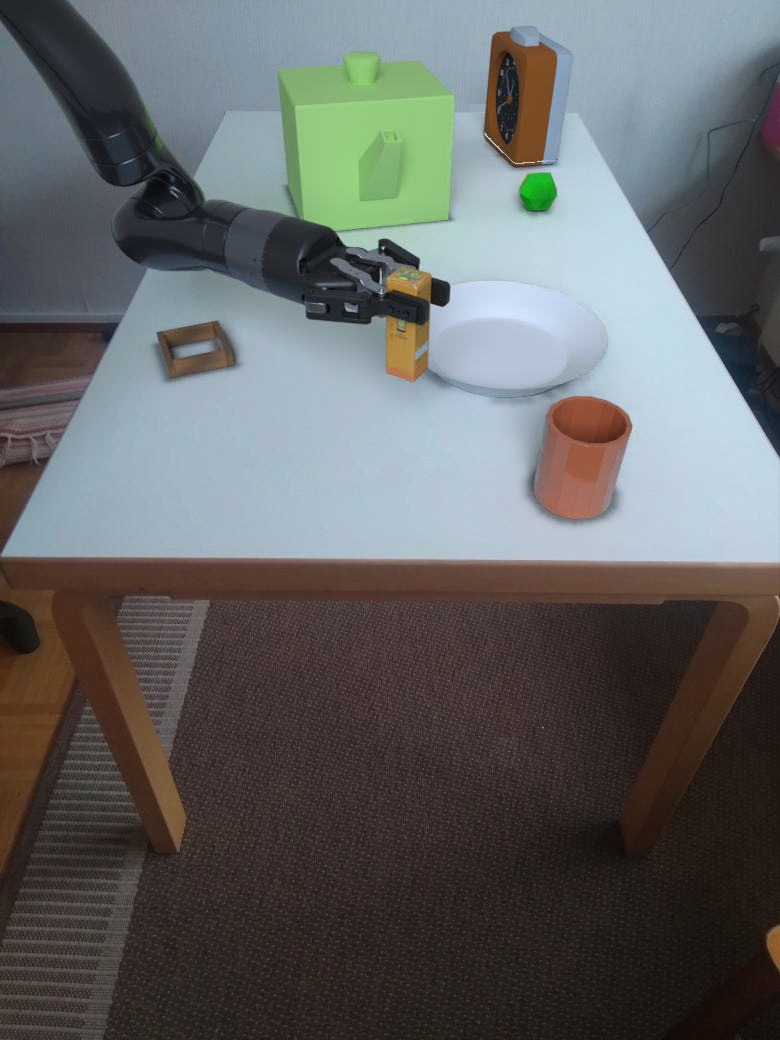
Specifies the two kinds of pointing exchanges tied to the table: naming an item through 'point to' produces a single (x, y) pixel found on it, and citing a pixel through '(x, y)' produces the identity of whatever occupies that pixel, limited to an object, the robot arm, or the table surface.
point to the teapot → (367, 142)
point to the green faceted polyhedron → (538, 191)
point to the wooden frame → (200, 360)
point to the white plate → (512, 338)
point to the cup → (581, 456)
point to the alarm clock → (527, 95)
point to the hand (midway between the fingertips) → (437, 304)
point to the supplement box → (408, 328)
